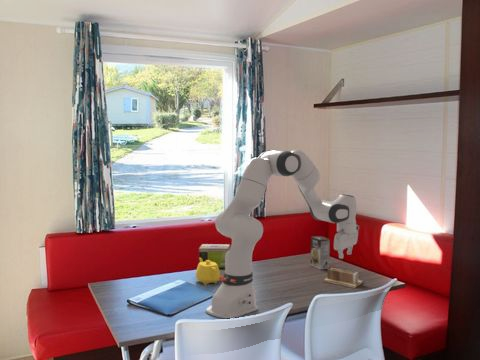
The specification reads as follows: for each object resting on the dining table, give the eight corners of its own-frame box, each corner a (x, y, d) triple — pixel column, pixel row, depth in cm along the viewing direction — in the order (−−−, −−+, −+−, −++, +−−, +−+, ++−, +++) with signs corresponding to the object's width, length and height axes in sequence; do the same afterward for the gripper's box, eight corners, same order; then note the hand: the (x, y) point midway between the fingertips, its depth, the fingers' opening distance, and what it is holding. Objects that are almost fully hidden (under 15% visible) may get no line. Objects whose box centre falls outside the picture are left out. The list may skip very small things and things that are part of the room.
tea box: (230, 271, 249) (230, 243, 247) (228, 277, 239) (228, 248, 237) (202, 270, 250) (202, 243, 249) (198, 276, 240) (198, 247, 239)
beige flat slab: (354, 287, 222) (354, 285, 222) (323, 281, 232) (323, 279, 232) (362, 282, 230) (362, 280, 230) (332, 276, 240) (332, 274, 240)
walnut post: (327, 278, 233) (354, 283, 225) (327, 269, 233) (354, 274, 225) (331, 276, 237) (358, 281, 229) (331, 267, 236) (358, 272, 228)
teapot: (189, 278, 237) (189, 257, 236) (209, 275, 242) (209, 254, 241) (205, 288, 221) (205, 266, 220) (226, 285, 227) (226, 263, 226)
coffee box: (309, 265, 260) (310, 236, 258) (319, 264, 262) (320, 235, 261) (319, 269, 251) (320, 240, 250) (329, 268, 254) (330, 238, 253)
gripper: (343, 232, 217) (342, 261, 219) (360, 225, 234) (359, 253, 235) (330, 230, 221) (329, 259, 222) (348, 224, 238) (347, 251, 239)
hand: (345, 256), depth 229 cm, fingers open, 8 cm apart
